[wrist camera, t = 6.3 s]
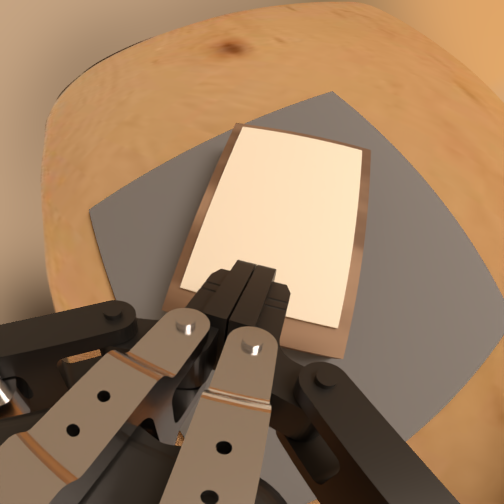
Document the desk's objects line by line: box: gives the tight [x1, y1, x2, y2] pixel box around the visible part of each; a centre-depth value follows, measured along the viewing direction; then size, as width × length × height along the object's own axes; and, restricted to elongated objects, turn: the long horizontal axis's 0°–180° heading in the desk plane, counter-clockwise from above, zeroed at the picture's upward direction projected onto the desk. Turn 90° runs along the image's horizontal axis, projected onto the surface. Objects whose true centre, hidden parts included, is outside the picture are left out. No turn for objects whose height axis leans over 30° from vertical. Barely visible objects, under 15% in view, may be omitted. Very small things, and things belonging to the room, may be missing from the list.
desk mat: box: [89, 91, 504, 504], centre depth 18 cm, size 26×28×1 cm
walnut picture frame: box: [162, 123, 371, 359], centre depth 17 cm, size 3×10×14 cm
